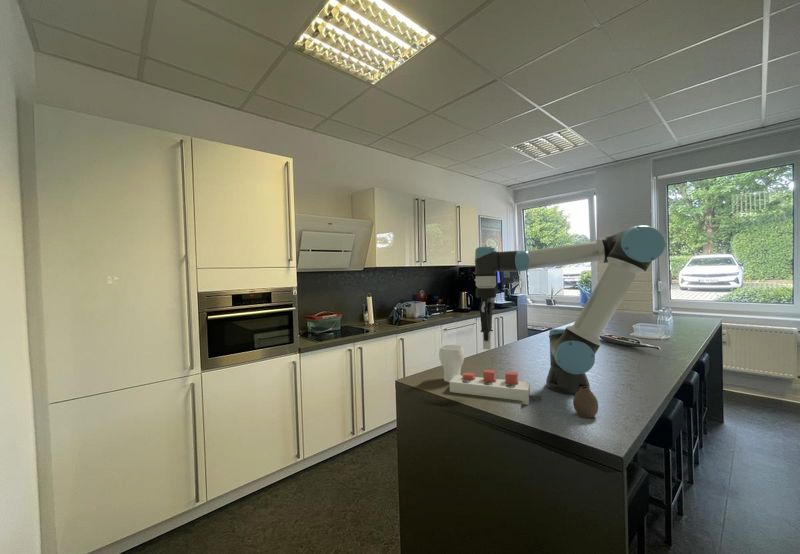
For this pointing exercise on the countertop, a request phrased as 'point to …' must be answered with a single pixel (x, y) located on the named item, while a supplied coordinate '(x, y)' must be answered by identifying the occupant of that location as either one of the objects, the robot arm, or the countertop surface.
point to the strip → (493, 388)
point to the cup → (451, 360)
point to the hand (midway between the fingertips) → (487, 348)
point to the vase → (585, 402)
